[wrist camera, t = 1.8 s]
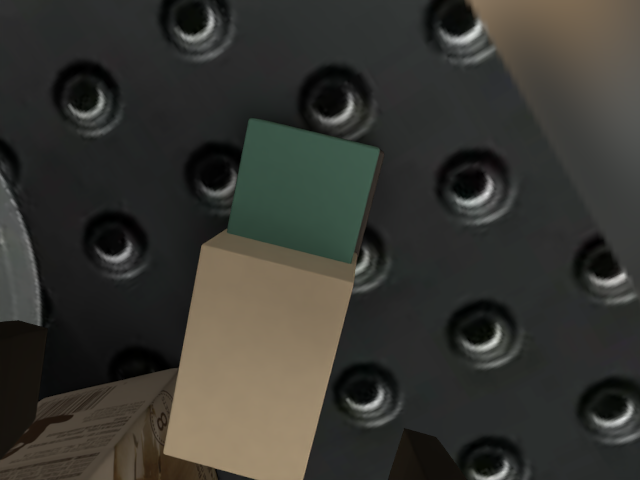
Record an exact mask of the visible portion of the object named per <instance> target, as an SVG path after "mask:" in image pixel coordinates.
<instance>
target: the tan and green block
mask: <svg viewBox="0 0 640 480" xmlns="http://www.w3.org/2000/svg"><path fill="white" fill-rule="evenodd" d="M383 158H384V152H383V151H381V150H379V148H378V147H375V146H371V145H367V144H363V143H358V142H354V141H350V140H346V139H342V138H338V137H333V136H329V135H325V134H321V133H317V132H313V131H308V130H304V129H300V128H296V127H292V126H287V125H283V124H279V123H275V122H271V121H267V120H262V119H255V118H250V119H249V120H248V126H247V131H246V136H245V141H244V146H243V151H242V156H241V161H240V166H239V172H238V177H237V182H236V187H235V192H234V197H233V202H232V207H231V212H230V218H229V223H228V228H227V229H226V230H224V231H223V232H221V233H220V234H218V235H216V236H215V237H213V238H212V239H210V240H209V241H207V242H206V243H204V244H203V245H202V246H201V251H200V257H199V262H198V268H197V273H196V278H195V284H194V289H193V295H192V300H191V305H190V311H189V316H188V321H187V327H186V332H185V338H184V343H183V348H182V354H181V359H180V365H179V370H178V375H177V381H176V386H175V392H174V397H173V402H172V408H171V413H170V419H169V424H168V429H167V435H166V440H165V445H164V451H163V453H164V454H165V455H169V456H173V457H176V458H180V459H183V460H187V461H191V462H194V463H198V464H202V465H205V466H209V467H213V468H216V469H220V470H224V471H227V472H231V473H234V474H238V475H242V476H245V477H249V478H253V479H256V480H303V478H304V474H305V470H306V466H307V462H308V459H309V455H310V451H311V447H312V443H313V439H314V435H315V432H316V428H317V424H318V420H319V416H320V412H321V408H322V405H323V401H324V397H325V393H326V389H327V385H328V381H329V377H330V374H331V370H332V366H333V362H334V358H335V354H336V350H337V347H338V343H339V339H340V335H341V331H342V327H343V323H344V320H345V316H346V312H347V308H348V304H349V300H350V296H351V293H352V289H353V285H354V277H355V268H356V263H357V259H358V255H359V251H360V247H361V243H362V240H363V236H364V232H365V228H366V224H367V220H368V216H369V212H370V209H371V205H372V201H373V197H374V193H375V189H376V185H377V181H378V178H379V174H380V170H381V166H382V162H383Z"/></svg>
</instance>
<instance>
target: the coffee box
mask: <svg viewBox="0 0 640 480" xmlns="http://www.w3.org/2000/svg"><path fill="white" fill-rule="evenodd" d="M178 370H179V368H173V369H167V370H163V371H159V372H154V373H150V374H146V375H142V376H137V377H133V378H129V379H125V380H120V381H116V382H112V383H107V384H103V385H98V386H93V387H89V388H85V389H81V390H76V391H72V392H68V393H64V394H60V395H55V396H51V397H47V398H44V399H42V400H41V401H39V402H38V405H37V413H36V419H35V421H34V422H33V423H32V424H31V425H30V427H29V428H28V429H27V430H26V431H25V433H24V434H23V435H22V436H21V437H20V439H19V440H18V441H17V442H16V443H15V444H14V446H13V447H12V448H11V449H10V450H9V451H8V452H7V453H6V454H5V456H4V457H3V458H2V459H1V460H0V480H218V478H217V475H216V471H215V468H213V467H209V466H205V465H202V464H198V463H194V462H191V461H187V460H183V459H180V458H176V457H173V456H169V455H165V454H164V453H163V451H164V445H165V440H166V435H167V429H168V424H169V419H170V413H171V408H172V402H173V397H174V392H175V386H176V381H177V375H178Z"/></svg>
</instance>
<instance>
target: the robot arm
mask: <svg viewBox="0 0 640 480" xmlns="http://www.w3.org/2000/svg"><path fill="white" fill-rule="evenodd" d="M47 331H48V328H44V327H41V326H37V325H34V324H30V323H26V322H23V321H19V320H17V321H5V322H0V460H1V459H2V458H3V457H4V456H5V454H6V453H7V452H8V451H9V450H10V449H11V448H12V447H13V446H14V444H15V443H16V442H17V441H18V440H19V439H20V437H21V436H22V435H23V434H24V433H25V431H26V430H27V429H28V428H29V427H30V425H31V424H32V423H33V422H34V421H35V419H36V413H37V405H38V398H39V390H40V383H41V375H42V368H43V360H44V353H45V345H46V338H47ZM388 480H467V479H466V478H465V476H464V475H463V473H462V472H461V471H460V469H459V468H458V466H457V465H456V463H455V462H454V461H453V459H452V458H451V456H450V455H449V454H448V452H447V451H446V449H445V448H444V447H443V445H442V444H441V443H440V442H439V440H438V439H437V438H436V437H434V436H430V435H427V434H423V433H420V432H416V431H412V430H409V429H405V428H404V431H403V434H402V438H401V441H400V444H399V447H398V450H397V453H396V456H395V459H394V463H393V466H392V469H391V472H390V475H389V478H388Z"/></svg>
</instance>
